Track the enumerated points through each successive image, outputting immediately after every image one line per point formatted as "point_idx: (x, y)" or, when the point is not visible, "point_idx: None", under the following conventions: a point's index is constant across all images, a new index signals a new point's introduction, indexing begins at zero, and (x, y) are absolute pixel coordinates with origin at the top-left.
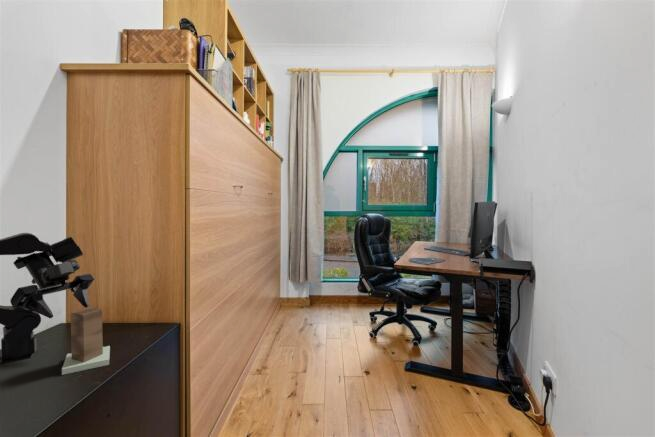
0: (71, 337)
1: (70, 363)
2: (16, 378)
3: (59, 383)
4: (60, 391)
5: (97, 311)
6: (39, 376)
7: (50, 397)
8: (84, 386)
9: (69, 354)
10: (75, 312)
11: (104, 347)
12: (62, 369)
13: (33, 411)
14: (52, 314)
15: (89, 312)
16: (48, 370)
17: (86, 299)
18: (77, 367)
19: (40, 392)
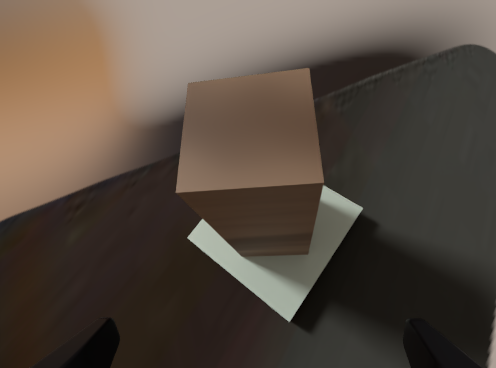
0: (311, 233)
1: (327, 225)
2: None
3: (382, 177)
4: (398, 137)
5: (218, 84)
6: (399, 279)
7: (424, 130)
8: (354, 113)
9: (288, 307)
10: (303, 155)
11: (203, 241)
12: (361, 207)
13: (470, 106)
14: (417, 325)
15: (262, 80)
16: (364, 297)
17: (45, 366)
18: (326, 188)
19: (432, 174)
